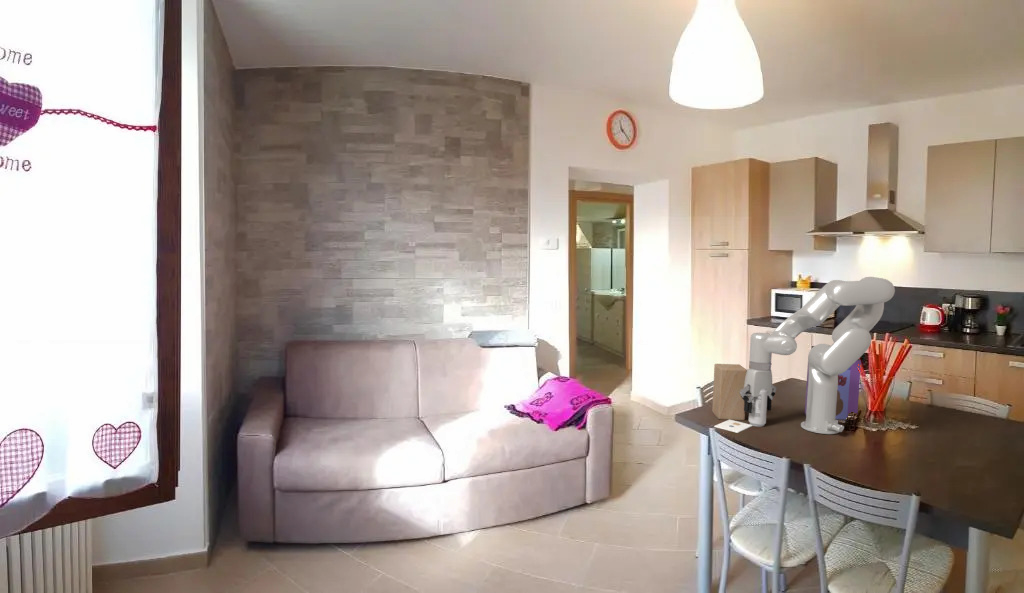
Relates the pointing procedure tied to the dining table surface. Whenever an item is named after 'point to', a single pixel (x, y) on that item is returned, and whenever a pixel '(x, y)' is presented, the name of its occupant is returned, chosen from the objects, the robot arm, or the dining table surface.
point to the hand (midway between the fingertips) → (757, 410)
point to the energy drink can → (759, 409)
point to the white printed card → (733, 426)
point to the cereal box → (845, 391)
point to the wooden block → (728, 391)
